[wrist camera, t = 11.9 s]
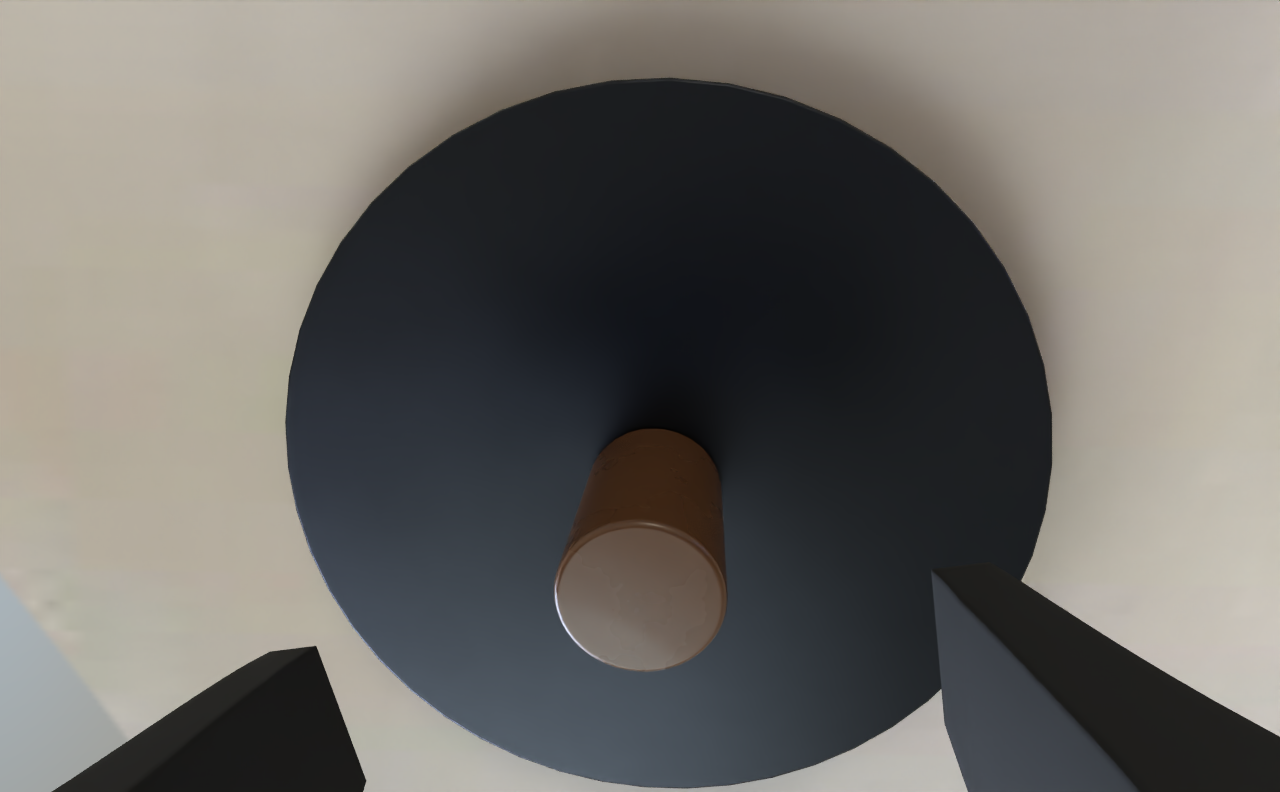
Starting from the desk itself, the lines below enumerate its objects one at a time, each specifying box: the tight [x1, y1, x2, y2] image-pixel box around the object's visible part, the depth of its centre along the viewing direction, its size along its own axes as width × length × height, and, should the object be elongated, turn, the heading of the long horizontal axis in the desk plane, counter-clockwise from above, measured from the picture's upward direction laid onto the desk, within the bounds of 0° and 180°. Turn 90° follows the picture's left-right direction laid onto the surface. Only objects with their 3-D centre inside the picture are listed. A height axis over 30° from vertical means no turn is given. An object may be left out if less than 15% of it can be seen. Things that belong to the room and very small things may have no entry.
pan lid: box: [285, 78, 1052, 788], centre depth 13 cm, size 14×14×5 cm
